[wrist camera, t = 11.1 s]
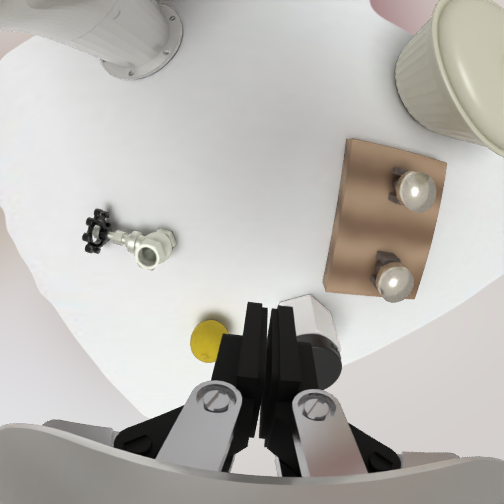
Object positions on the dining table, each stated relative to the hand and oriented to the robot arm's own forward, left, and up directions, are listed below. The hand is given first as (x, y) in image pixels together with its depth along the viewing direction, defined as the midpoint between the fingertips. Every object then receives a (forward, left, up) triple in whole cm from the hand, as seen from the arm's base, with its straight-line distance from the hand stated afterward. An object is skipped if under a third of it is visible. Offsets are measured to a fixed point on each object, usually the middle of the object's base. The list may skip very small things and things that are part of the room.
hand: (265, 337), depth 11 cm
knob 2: (-5, +16, -26) cm, 31 cm away
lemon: (+20, -6, -29) cm, 36 cm away
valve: (+7, -18, -29) cm, 35 cm away
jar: (+17, +7, -29) cm, 35 cm away
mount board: (+1, +16, -29) cm, 33 cm away
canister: (-20, +21, -29) cm, 41 cm away
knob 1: (+6, +16, -26) cm, 31 cm away
